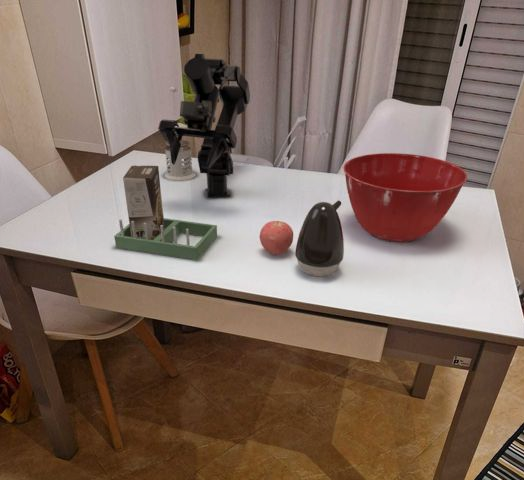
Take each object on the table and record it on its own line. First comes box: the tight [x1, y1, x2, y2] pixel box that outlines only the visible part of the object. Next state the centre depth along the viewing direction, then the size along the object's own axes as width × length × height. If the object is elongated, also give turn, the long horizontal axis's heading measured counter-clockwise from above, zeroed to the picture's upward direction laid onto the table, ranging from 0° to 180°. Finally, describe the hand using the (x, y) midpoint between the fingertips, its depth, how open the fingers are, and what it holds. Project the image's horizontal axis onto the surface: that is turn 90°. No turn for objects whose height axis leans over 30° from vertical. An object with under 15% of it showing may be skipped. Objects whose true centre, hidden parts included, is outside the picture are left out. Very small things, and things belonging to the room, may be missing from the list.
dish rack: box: [113, 217, 218, 261], centre depth 116 cm, size 13×20×7 cm, turn 74°
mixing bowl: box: [343, 152, 468, 243], centre depth 121 cm, size 28×28×16 cm
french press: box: [164, 86, 197, 181], centre depth 150 cm, size 10×12×25 cm
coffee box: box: [122, 165, 165, 240], centre depth 114 cm, size 9×6×16 cm
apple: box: [259, 220, 294, 256], centre depth 112 cm, size 7×7×8 cm
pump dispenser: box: [294, 200, 345, 277], centre depth 103 cm, size 10×10×15 cm
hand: (190, 165), depth 121 cm, fingers open, 9 cm apart
